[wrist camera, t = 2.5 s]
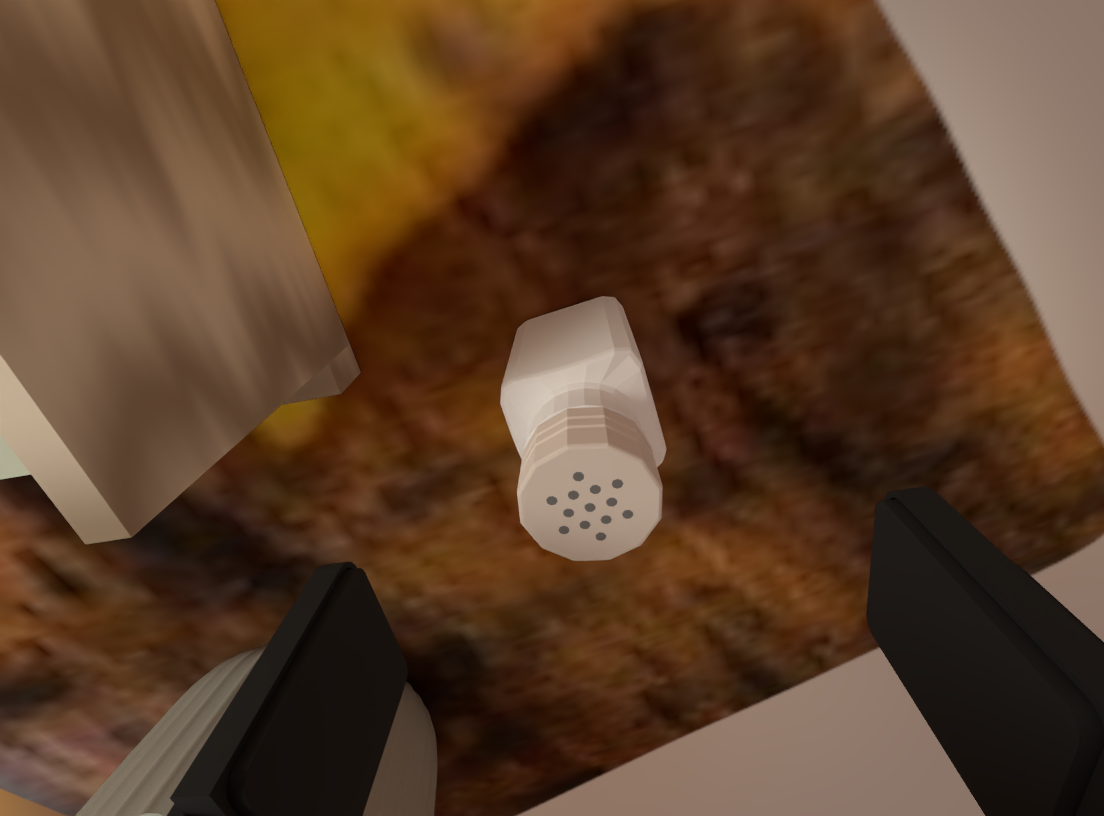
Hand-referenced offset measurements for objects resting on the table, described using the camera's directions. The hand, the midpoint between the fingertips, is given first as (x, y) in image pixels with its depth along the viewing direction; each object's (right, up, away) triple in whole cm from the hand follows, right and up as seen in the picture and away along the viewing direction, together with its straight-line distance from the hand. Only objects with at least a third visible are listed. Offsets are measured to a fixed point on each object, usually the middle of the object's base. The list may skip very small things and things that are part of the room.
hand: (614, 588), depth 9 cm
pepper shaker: (0, +6, +10) cm, 12 cm away
